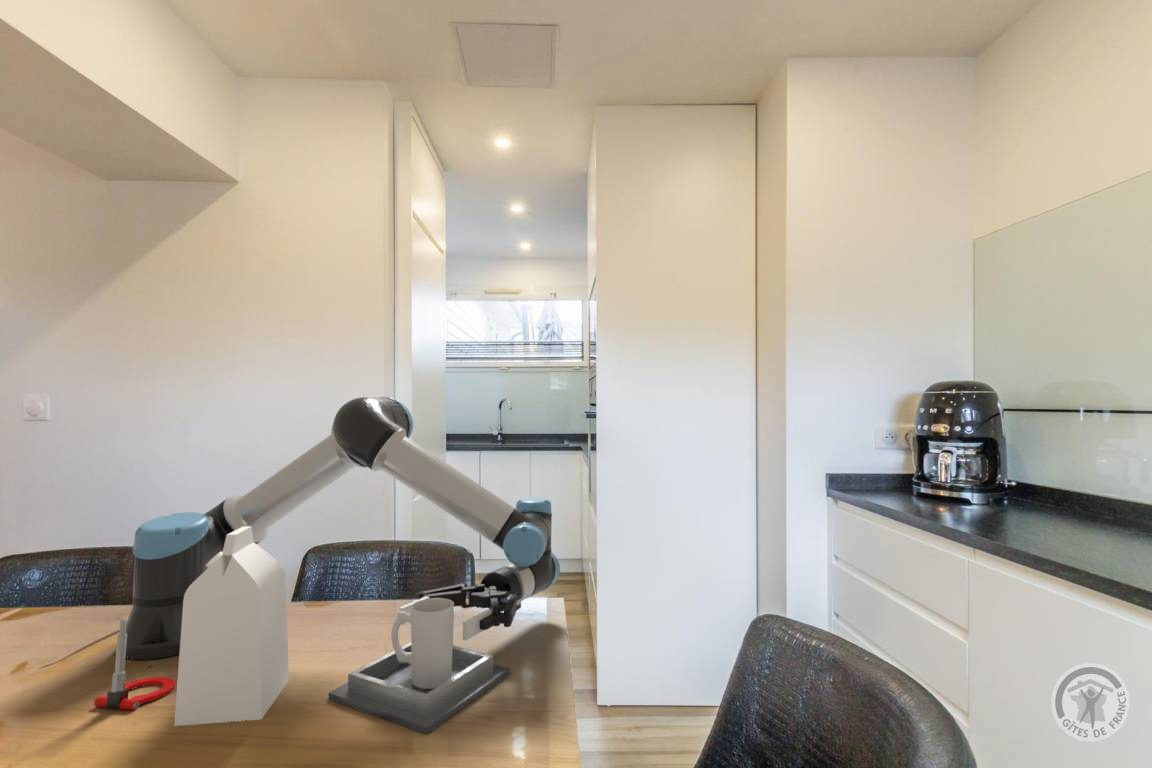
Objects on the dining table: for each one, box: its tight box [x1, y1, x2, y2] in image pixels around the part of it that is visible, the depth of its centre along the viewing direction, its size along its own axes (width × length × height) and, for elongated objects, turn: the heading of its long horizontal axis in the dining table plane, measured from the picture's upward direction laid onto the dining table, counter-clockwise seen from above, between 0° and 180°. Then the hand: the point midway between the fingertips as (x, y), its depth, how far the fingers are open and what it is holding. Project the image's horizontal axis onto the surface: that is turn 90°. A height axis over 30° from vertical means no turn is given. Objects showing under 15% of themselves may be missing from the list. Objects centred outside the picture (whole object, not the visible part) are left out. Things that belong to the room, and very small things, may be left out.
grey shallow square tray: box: [327, 641, 511, 735], centre depth 94 cm, size 20×20×4 cm
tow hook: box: [93, 618, 176, 711], centre depth 91 cm, size 8×13×9 cm
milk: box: [173, 526, 290, 727], centre depth 89 cm, size 12×12×26 cm
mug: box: [390, 598, 455, 689], centre depth 94 cm, size 10×7×12 cm, turn 88°
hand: (431, 623), depth 95 cm, fingers open, 13 cm apart
